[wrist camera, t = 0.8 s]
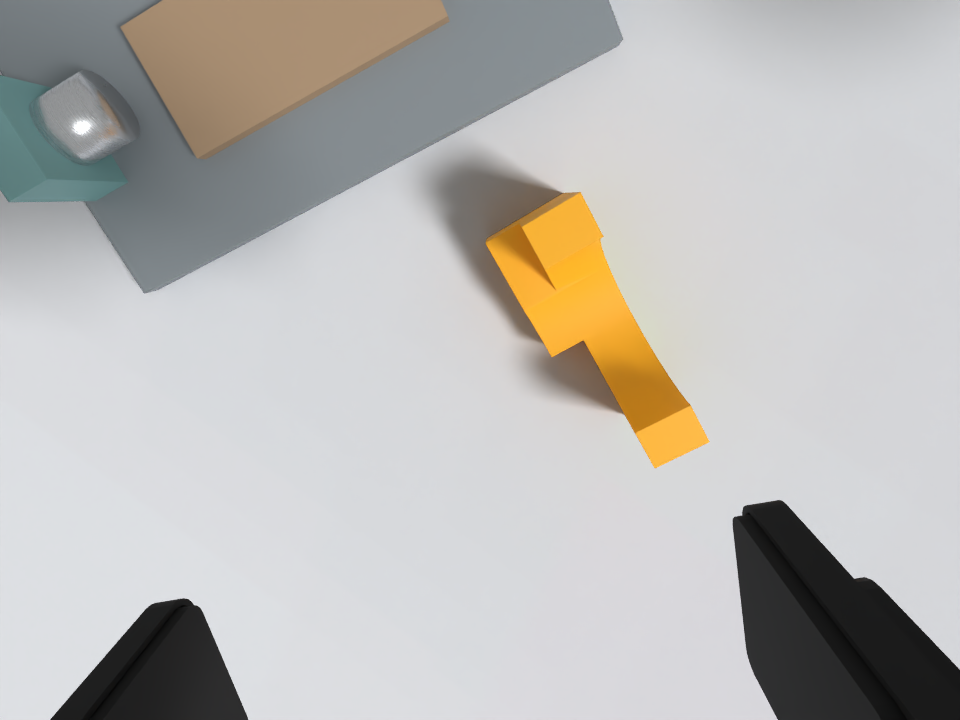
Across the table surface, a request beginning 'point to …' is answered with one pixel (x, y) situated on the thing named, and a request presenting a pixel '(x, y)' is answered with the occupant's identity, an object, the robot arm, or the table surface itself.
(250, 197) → the stand
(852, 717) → the robot arm
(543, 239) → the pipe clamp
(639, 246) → the table surface
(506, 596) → the table surface
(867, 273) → the table surface
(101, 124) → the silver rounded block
